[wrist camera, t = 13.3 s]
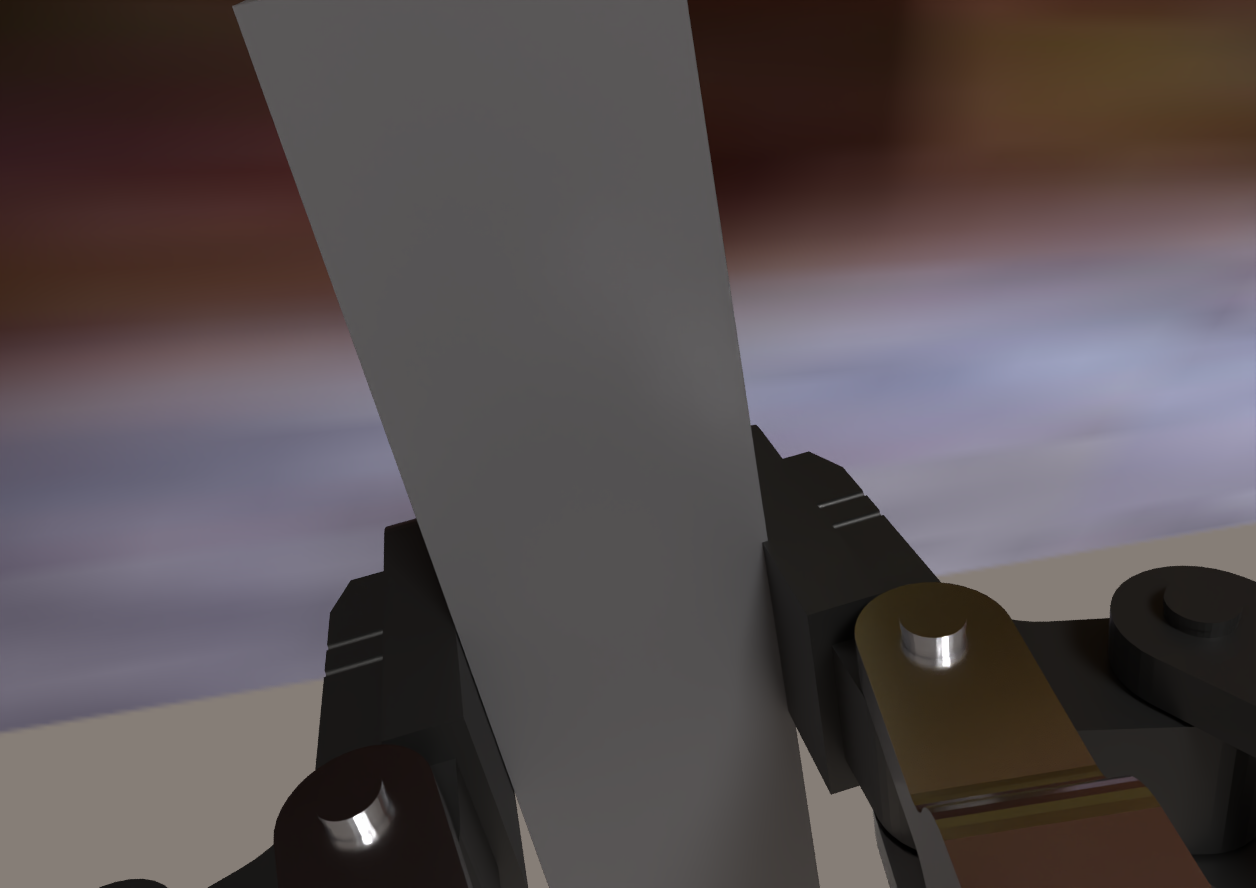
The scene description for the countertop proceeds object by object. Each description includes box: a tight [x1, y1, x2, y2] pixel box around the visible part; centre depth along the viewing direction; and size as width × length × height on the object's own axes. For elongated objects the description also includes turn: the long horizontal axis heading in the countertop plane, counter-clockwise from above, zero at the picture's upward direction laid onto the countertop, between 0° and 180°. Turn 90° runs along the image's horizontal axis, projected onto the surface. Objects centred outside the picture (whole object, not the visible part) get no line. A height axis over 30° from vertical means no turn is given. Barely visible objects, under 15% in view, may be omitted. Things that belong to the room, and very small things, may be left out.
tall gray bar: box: [232, 0, 820, 888], centre depth 11 cm, size 12×3×4 cm, turn 12°
